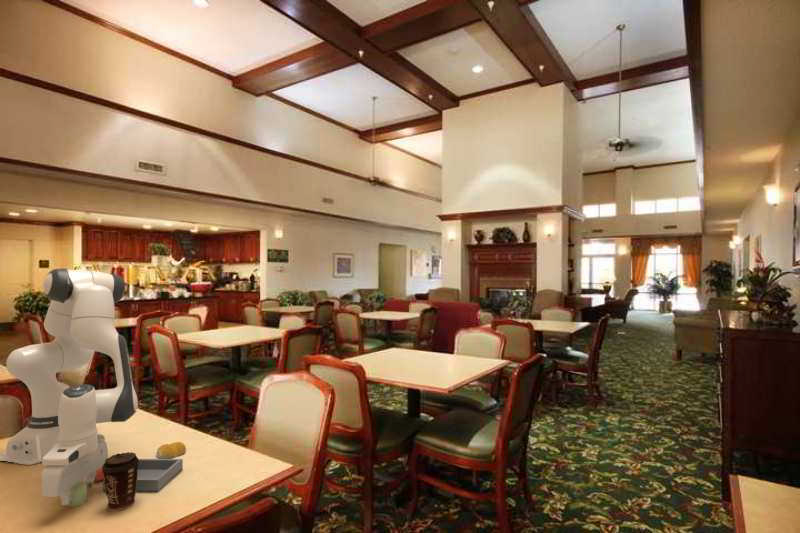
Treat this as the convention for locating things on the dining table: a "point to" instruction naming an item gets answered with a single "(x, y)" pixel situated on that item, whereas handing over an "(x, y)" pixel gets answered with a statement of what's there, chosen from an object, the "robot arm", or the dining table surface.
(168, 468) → the bin
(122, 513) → the dining table surface
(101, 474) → the red ball
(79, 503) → the pale green capsule
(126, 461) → the coffee cup
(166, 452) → the bread roll
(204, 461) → the dining table surface
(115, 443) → the dining table surface
